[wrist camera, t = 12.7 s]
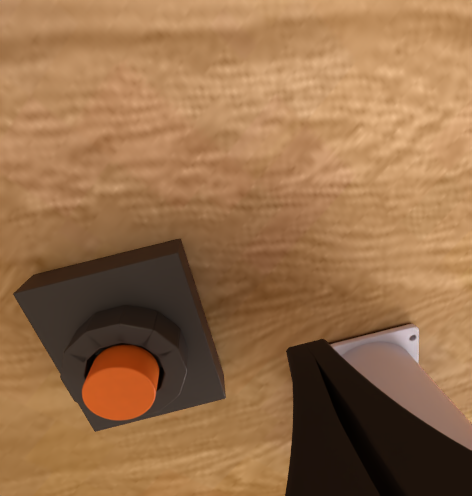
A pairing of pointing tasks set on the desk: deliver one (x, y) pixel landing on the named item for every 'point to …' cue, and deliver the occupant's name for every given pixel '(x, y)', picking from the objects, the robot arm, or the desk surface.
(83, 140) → the desk surface
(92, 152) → the desk surface
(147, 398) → the button
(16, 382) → the desk surface
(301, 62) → the desk surface
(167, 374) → the button block
